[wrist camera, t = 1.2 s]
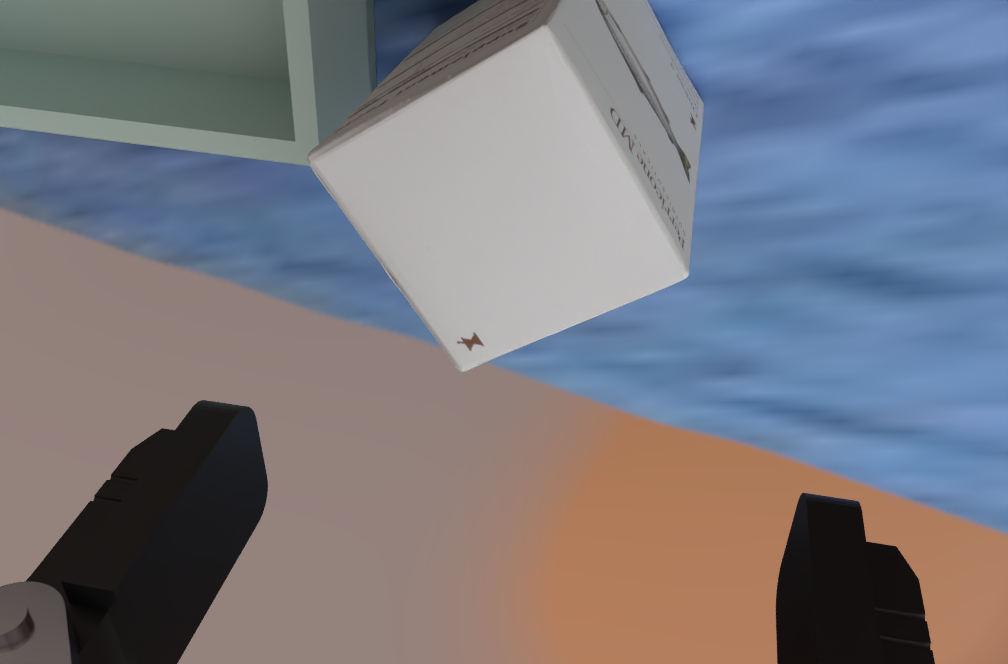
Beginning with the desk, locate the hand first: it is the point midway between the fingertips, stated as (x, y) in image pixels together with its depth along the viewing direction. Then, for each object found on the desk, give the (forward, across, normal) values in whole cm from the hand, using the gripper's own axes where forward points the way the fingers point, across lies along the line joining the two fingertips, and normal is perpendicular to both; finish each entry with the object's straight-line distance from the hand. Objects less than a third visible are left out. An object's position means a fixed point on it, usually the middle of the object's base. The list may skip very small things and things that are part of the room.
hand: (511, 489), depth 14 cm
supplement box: (+23, +2, +2) cm, 23 cm away
